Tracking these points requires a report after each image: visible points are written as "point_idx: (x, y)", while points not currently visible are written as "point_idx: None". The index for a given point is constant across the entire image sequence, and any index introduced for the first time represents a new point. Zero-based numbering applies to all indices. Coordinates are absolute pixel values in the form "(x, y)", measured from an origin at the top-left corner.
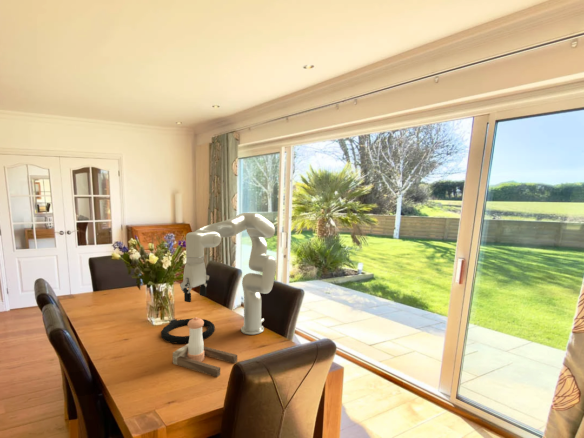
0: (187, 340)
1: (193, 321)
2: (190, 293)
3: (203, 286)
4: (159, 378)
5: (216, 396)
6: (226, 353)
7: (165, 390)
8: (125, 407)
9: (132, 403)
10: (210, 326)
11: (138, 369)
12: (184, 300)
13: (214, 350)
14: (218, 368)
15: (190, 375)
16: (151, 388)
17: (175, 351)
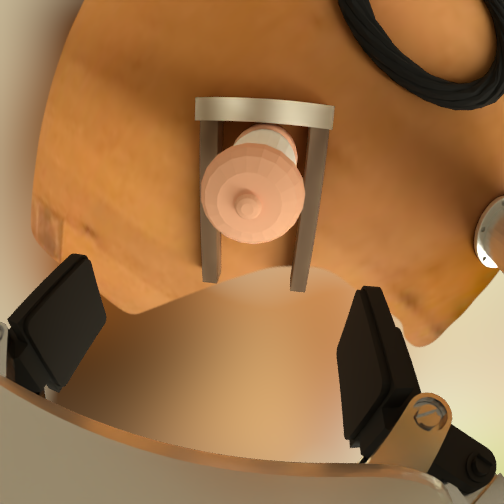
0: (364, 46)
1: (216, 208)
2: (55, 387)
3: (364, 442)
4: (127, 130)
5: (151, 301)
6: (302, 259)
7: (103, 189)
8: (40, 163)
9: (50, 164)
10: (484, 92)
11: (136, 35)
12: (69, 256)
13: (308, 210)
14: (210, 281)
15: (179, 199)
16: (92, 152)
17: (206, 101)
